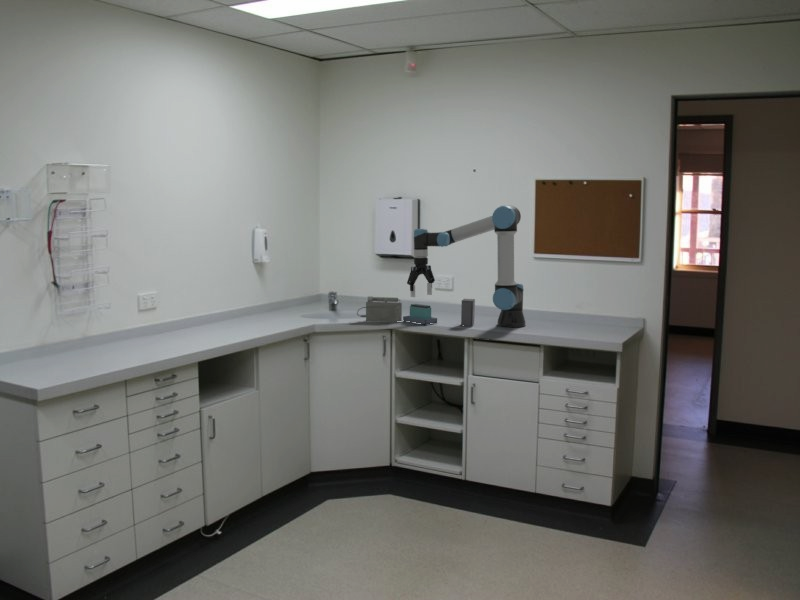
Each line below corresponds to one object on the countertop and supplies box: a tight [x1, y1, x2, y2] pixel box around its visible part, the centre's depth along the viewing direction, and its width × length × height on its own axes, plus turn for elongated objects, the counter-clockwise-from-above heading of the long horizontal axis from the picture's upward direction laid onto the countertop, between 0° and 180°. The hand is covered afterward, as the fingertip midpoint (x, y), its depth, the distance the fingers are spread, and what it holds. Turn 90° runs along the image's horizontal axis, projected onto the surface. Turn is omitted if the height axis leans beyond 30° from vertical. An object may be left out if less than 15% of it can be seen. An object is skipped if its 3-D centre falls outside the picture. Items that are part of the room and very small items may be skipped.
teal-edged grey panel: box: [409, 303, 432, 320], centre depth 413 cm, size 12×4×9 cm, turn 46°
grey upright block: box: [460, 298, 476, 327], centre depth 405 cm, size 6×8×14 cm
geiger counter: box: [356, 295, 403, 323], centre depth 415 cm, size 14×6×25 cm
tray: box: [402, 315, 438, 326], centre depth 413 cm, size 17×10×3 cm, turn 46°
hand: (421, 295), depth 411 cm, fingers open, 13 cm apart
